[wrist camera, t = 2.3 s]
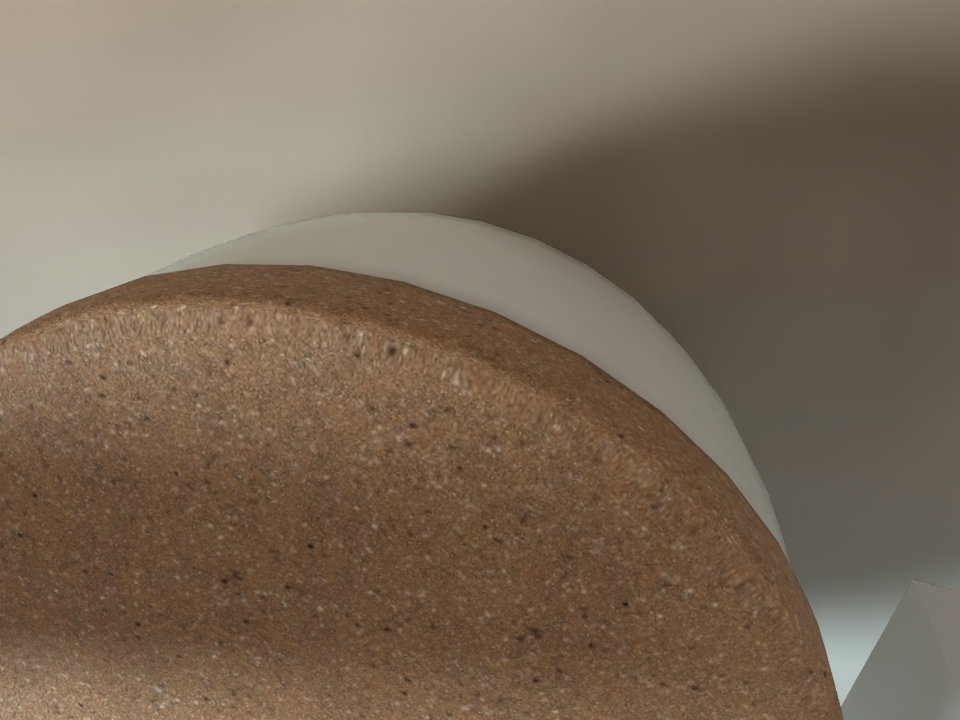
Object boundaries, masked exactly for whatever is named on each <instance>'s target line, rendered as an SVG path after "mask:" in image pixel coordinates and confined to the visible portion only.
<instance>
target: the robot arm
mask: <svg viewBox="0 0 960 720" xmlns="http://www.w3.org/2000/svg"><path fill="white" fill-rule="evenodd" d="M841 710H842V714H843V718H844V720H960V592H957V591H953V590H949V589H946V588H942V587H938V586H934V585H930V584H926V583H923V582H919V581H915V580H912V582H911V584H910V585H909V587H908V589H907V591H906V592H905V594H904V596H903V598H902V599H901V601H900V603H899V605H898V607H897V608H896V610H895V612H894V614H893V615H892V617H891V619H890V621H889V622H888V624H887V626H886V628H885V630H884V631H883V633H882V635H881V637H880V638H879V640H878V642H877V644H876V646H875V647H874V649H873V651H872V653H871V654H870V656H869V658H868V660H867V661H866V663H865V665H864V667H863V669H862V670H861V672H860V674H859V676H858V677H857V679H856V681H855V683H854V684H853V686H852V688H851V690H850V692H849V693H848V695H847V697H846V699H845V700H844V702H843V704H842V706H841Z"/></svg>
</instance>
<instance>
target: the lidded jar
mask: <svg viewBox="0 0 960 720" xmlns="http://www.w3.org/2000/svg"><path fill="white" fill-rule="evenodd" d="M0 720H844V718H843V714H842V710H841V707H840V703H839V699H838V695H837V691H836V688H835V684H834V680H833V676H832V672H831V669H830V665H829V661H828V657H827V653H826V650H825V646H824V643H823V640H822V636H821V633H820V629H819V626H818V623H817V621H816V618H815V616H814V614H813V611H812V609H811V607H810V605H809V603H808V601H807V599H806V597H805V595H804V593H803V591H802V589H801V587H800V585H799V583H798V581H797V579H796V577H795V575H794V573H793V571H792V569H791V566H790V562H789V559H788V555H787V551H786V548H785V544H784V540H783V537H782V534H781V531H780V528H779V525H778V522H777V518H776V515H775V512H774V509H773V506H772V503H771V500H770V497H769V494H768V492H767V490H766V487H765V485H764V483H763V481H762V479H761V477H760V475H759V473H758V471H757V469H756V467H755V465H754V463H753V461H752V459H751V457H750V455H749V453H748V451H747V449H746V447H745V445H744V442H743V440H742V438H741V436H740V434H739V432H738V430H737V428H736V426H735V424H734V422H733V420H732V418H731V416H730V414H729V412H728V410H727V408H726V406H725V404H724V403H723V402H722V400H721V399H720V397H719V396H718V395H717V393H716V392H715V391H714V389H713V388H712V386H711V385H710V384H709V382H708V381H707V380H706V378H705V377H704V375H703V374H702V373H701V371H700V370H699V369H698V367H697V366H696V365H695V363H694V362H693V360H692V359H691V358H690V356H689V355H688V354H687V353H686V351H685V350H684V349H683V348H682V347H681V345H680V344H679V343H678V342H677V341H676V340H675V338H674V337H673V336H672V335H671V334H670V333H669V332H668V331H667V330H666V329H665V328H664V327H663V326H662V325H661V324H660V323H659V322H658V321H657V320H656V319H655V318H654V317H653V316H652V315H651V314H650V313H649V312H647V311H646V310H645V309H644V308H643V307H642V306H641V305H640V304H639V303H638V302H637V301H636V300H635V299H634V298H633V297H632V296H630V295H629V294H627V293H626V292H625V291H623V290H622V289H620V288H619V287H618V286H616V285H615V284H613V283H612V282H611V281H609V280H608V279H606V278H605V277H604V276H602V275H601V274H599V273H598V272H597V271H595V270H594V269H592V268H591V267H590V266H588V265H586V264H584V263H582V262H580V261H578V260H576V259H574V258H573V257H571V256H569V255H567V254H565V253H563V252H561V251H559V250H557V249H555V248H553V247H551V246H549V245H547V244H545V243H543V242H541V241H539V240H537V239H534V238H531V237H528V236H525V235H522V234H519V233H516V232H513V231H510V230H506V229H503V228H500V227H497V226H494V225H491V224H488V223H485V222H482V221H476V220H470V219H464V218H458V217H451V216H445V215H439V214H433V213H427V212H368V213H345V214H339V215H333V216H327V217H321V218H315V219H309V220H303V221H297V222H291V223H287V224H283V225H279V226H276V227H272V228H269V229H265V230H261V231H258V232H254V233H250V234H248V235H245V236H242V237H239V238H237V239H234V240H231V241H228V242H226V243H223V244H220V245H217V246H214V247H212V248H209V249H206V250H203V251H201V252H198V253H195V254H193V255H191V256H188V257H186V258H184V259H182V260H180V261H177V262H175V263H173V264H171V265H168V266H166V267H164V268H162V269H160V270H157V271H155V272H153V273H151V274H149V275H147V276H144V277H141V278H139V279H136V280H133V281H130V282H128V283H125V284H122V285H119V286H116V287H114V288H111V289H108V290H105V291H102V292H100V293H97V294H94V295H91V296H88V297H86V298H83V299H80V300H77V301H75V302H72V303H69V304H66V305H63V306H61V307H59V308H57V309H55V310H53V311H51V312H49V313H47V314H45V315H43V316H41V317H39V318H37V319H35V320H33V321H31V322H29V323H28V324H26V325H24V326H22V327H20V328H18V329H17V330H15V331H13V332H12V333H10V334H8V335H7V336H5V337H4V338H2V339H0Z"/></svg>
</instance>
